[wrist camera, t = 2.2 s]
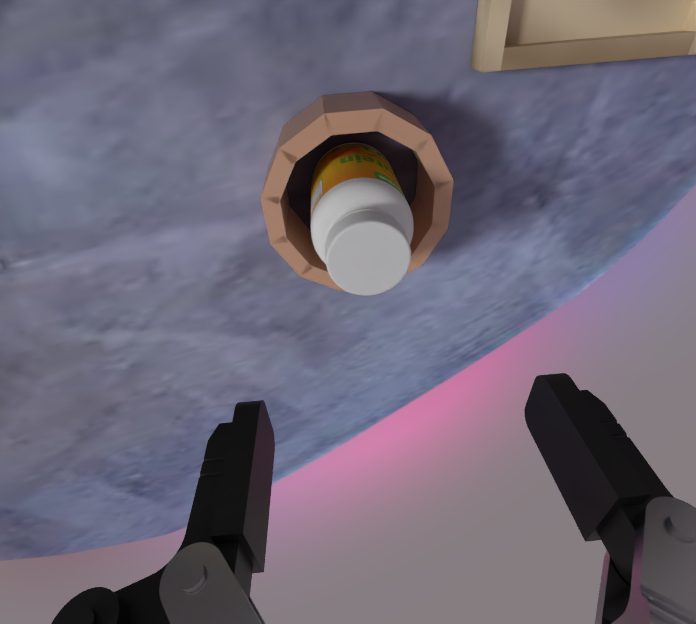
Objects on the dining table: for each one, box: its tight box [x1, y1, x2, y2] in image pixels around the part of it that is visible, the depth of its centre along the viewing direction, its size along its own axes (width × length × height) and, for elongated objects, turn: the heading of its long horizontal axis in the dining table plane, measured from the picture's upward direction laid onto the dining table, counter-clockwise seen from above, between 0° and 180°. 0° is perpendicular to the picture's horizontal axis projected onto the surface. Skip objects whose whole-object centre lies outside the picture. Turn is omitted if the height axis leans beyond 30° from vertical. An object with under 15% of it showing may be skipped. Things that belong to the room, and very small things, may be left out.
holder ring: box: [261, 91, 454, 291], centre depth 24 cm, size 10×10×4 cm
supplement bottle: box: [311, 142, 413, 295], centre depth 22 cm, size 5×5×10 cm
